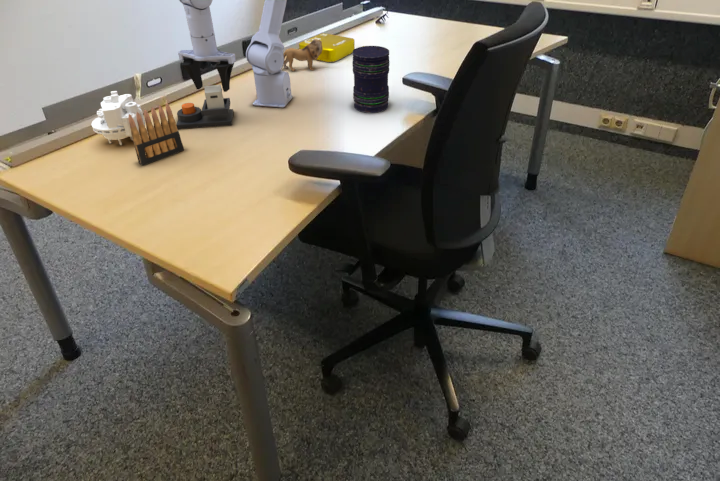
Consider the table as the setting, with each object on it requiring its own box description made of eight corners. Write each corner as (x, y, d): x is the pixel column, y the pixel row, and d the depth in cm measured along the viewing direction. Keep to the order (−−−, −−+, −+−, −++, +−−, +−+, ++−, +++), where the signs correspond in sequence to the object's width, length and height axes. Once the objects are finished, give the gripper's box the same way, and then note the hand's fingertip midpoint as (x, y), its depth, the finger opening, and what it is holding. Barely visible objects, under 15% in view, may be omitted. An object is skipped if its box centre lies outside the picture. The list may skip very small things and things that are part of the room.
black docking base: (233, 112, 141) (231, 102, 139) (231, 125, 135) (229, 114, 133) (181, 116, 140) (178, 106, 138) (177, 129, 133) (174, 118, 131)
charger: (224, 104, 138) (220, 84, 134) (225, 111, 134) (221, 91, 131) (208, 106, 137) (204, 86, 134) (208, 113, 133) (204, 93, 130)
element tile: (332, 63, 172) (331, 48, 169) (297, 56, 178) (296, 42, 175) (357, 51, 182) (356, 37, 179) (322, 44, 188) (321, 31, 185)
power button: (196, 109, 137) (194, 102, 135) (195, 114, 134) (193, 107, 133) (184, 110, 136) (182, 103, 135) (182, 115, 134) (180, 108, 132)
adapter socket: (230, 103, 139) (229, 97, 138) (228, 114, 133) (227, 108, 132) (205, 104, 138) (204, 99, 137) (202, 116, 132) (201, 110, 131)
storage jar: (372, 116, 138) (372, 60, 129) (346, 106, 143) (344, 52, 134) (396, 104, 143) (397, 50, 134) (369, 96, 149) (369, 43, 140)
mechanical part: (109, 130, 133) (94, 86, 126) (154, 130, 133) (142, 85, 126) (90, 150, 124) (72, 104, 117) (138, 150, 124) (124, 104, 117)
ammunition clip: (180, 147, 125) (168, 100, 118) (184, 150, 124) (172, 102, 117) (138, 162, 119) (123, 114, 112) (142, 165, 118) (126, 116, 111)
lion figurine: (322, 64, 171) (320, 36, 166) (324, 69, 167) (323, 41, 162) (278, 68, 169) (275, 40, 163) (279, 73, 165) (276, 45, 159)
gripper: (166, 37, 122) (179, 92, 131) (222, 41, 119) (231, 97, 128) (182, 29, 128) (193, 82, 136) (235, 32, 125) (244, 87, 133)
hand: (213, 89), depth 132 cm, fingers open, 7 cm apart
